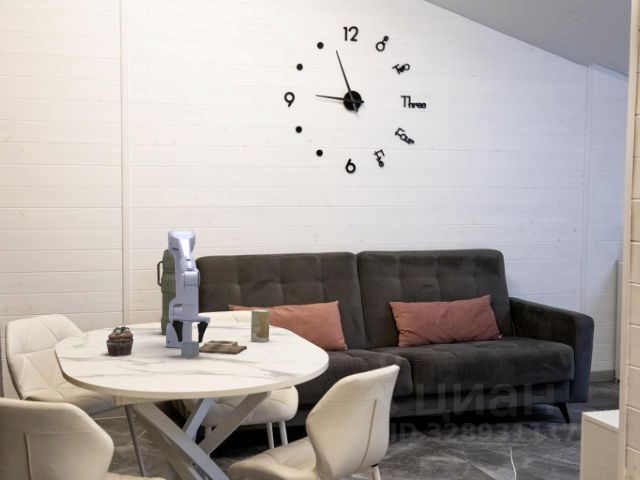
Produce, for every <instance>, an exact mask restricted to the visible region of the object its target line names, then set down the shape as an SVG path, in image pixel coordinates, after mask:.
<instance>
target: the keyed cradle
mask: <svg viewBox="0 0 640 480" xmlns="http://www.w3.org/2000/svg"><path fill="white" fill-rule="evenodd" d="M247 349H248V347H247V345H239V341H237V340H235V341H234V340H219V339H218V340H216V339H211V340H208V341H207V342H204V343H203V345H202V346H199V354H200V353H201V354H202V353H203V354H218V355H220V354H219V353H221V355H222V354H223V355H239V354H240V353H242V352H244V351H246V350H247Z"/></svg>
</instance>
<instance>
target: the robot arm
mask: <svg viewBox="0 0 640 480" xmlns="http://www.w3.org/2000/svg"><path fill="white" fill-rule="evenodd" d="M195 245H196V231H194V230H169V231H168V233H167V249H168V250H169V253H171V254H173V255H174V259H175V279H176V298H174V299H173V300H172V301H171V302H170V304H169V321H170V322H172V323H168V324H167V327H166V335H165V346H164V347H165V348H178V349H181V344H182V343H185V342H187V341H193V323H197V324H196V326H197V333H198V334H197V335H198V336H197V339H198V340H197V341H198V343H199V344H202V343H203V339H204V335H205V333H206V331H207V328H208V326H209V324H210V323H211V316H202V315H199V287H200V284H201V275H200V270H198V268H197V263H196V259H195V258H194V257H193V256H192V254H193V251H194V248H195ZM175 305H182V306H175Z"/></svg>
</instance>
